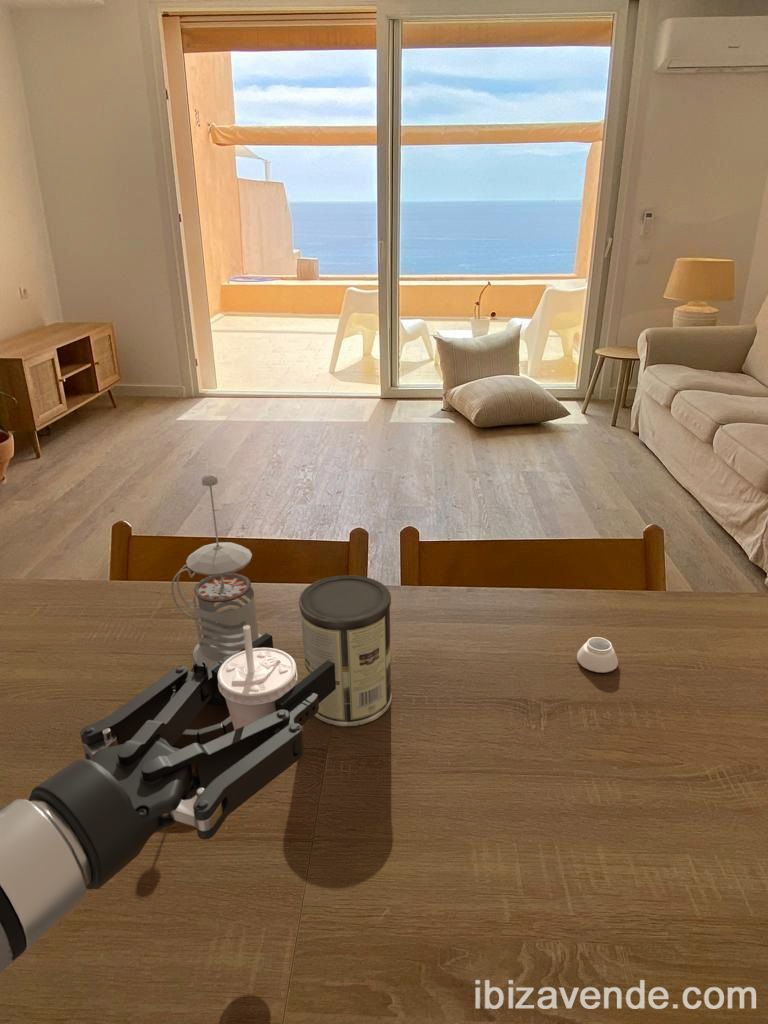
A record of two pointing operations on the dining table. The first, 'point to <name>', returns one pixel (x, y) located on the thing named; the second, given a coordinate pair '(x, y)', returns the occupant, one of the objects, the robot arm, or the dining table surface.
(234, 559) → the french press
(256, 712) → the smoothie
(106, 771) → the robot arm
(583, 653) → the upturned white bowl
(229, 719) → the cup holder
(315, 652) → the coffee can
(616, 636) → the dining table surface
